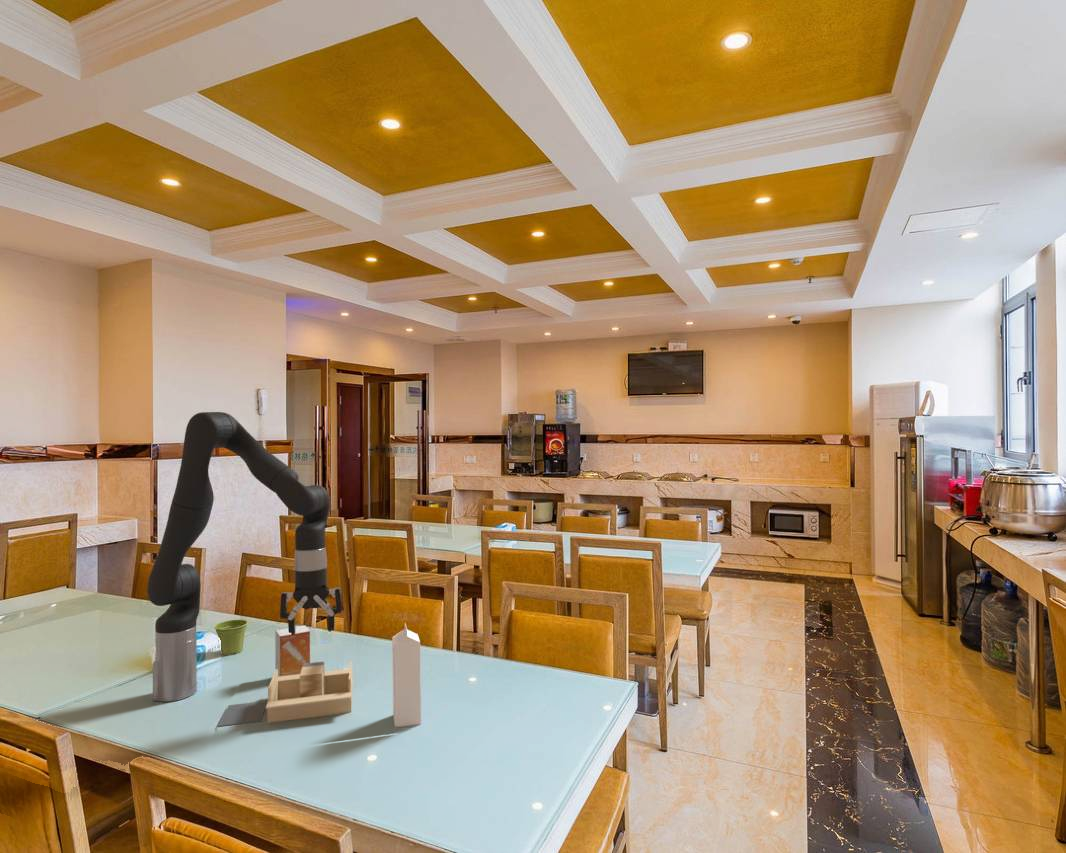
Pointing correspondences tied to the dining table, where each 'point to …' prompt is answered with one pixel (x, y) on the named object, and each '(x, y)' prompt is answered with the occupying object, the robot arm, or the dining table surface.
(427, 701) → the dining table surface
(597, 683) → the dining table surface
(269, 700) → the carton
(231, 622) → the plant pot
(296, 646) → the small box
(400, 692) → the milk
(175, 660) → the robot arm
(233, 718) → the slate mat
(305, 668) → the block
